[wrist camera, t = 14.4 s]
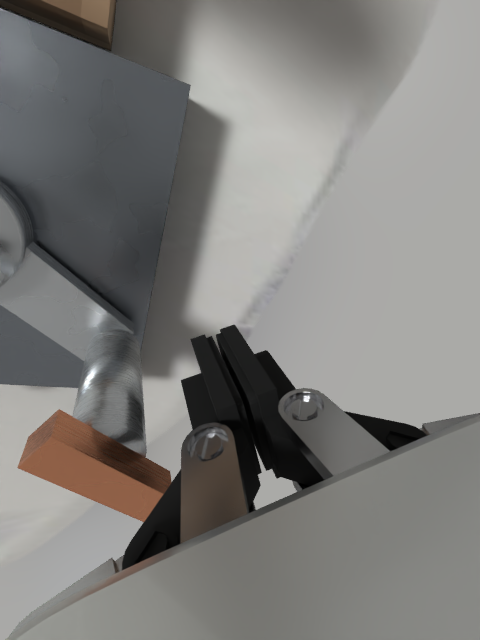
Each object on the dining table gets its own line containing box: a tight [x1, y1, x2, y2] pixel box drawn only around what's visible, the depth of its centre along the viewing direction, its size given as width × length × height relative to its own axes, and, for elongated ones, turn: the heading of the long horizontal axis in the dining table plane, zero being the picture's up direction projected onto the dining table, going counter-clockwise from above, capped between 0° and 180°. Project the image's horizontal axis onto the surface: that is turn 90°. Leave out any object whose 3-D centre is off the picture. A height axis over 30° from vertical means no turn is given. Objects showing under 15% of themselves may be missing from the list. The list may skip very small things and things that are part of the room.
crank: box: [0, 181, 171, 522], centre depth 10 cm, size 11×4×8 cm, turn 39°
